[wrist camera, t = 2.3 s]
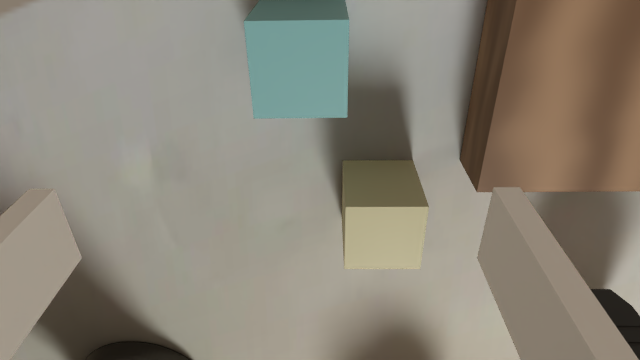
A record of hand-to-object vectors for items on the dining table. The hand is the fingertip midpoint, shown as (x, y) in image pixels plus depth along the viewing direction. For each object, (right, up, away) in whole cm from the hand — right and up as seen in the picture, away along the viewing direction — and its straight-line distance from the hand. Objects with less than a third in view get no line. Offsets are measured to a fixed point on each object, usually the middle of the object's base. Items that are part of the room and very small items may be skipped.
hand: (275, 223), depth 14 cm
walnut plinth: (+20, +9, +20) cm, 30 cm away
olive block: (+6, +1, +26) cm, 26 cm away
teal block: (0, +12, +19) cm, 22 cm away
